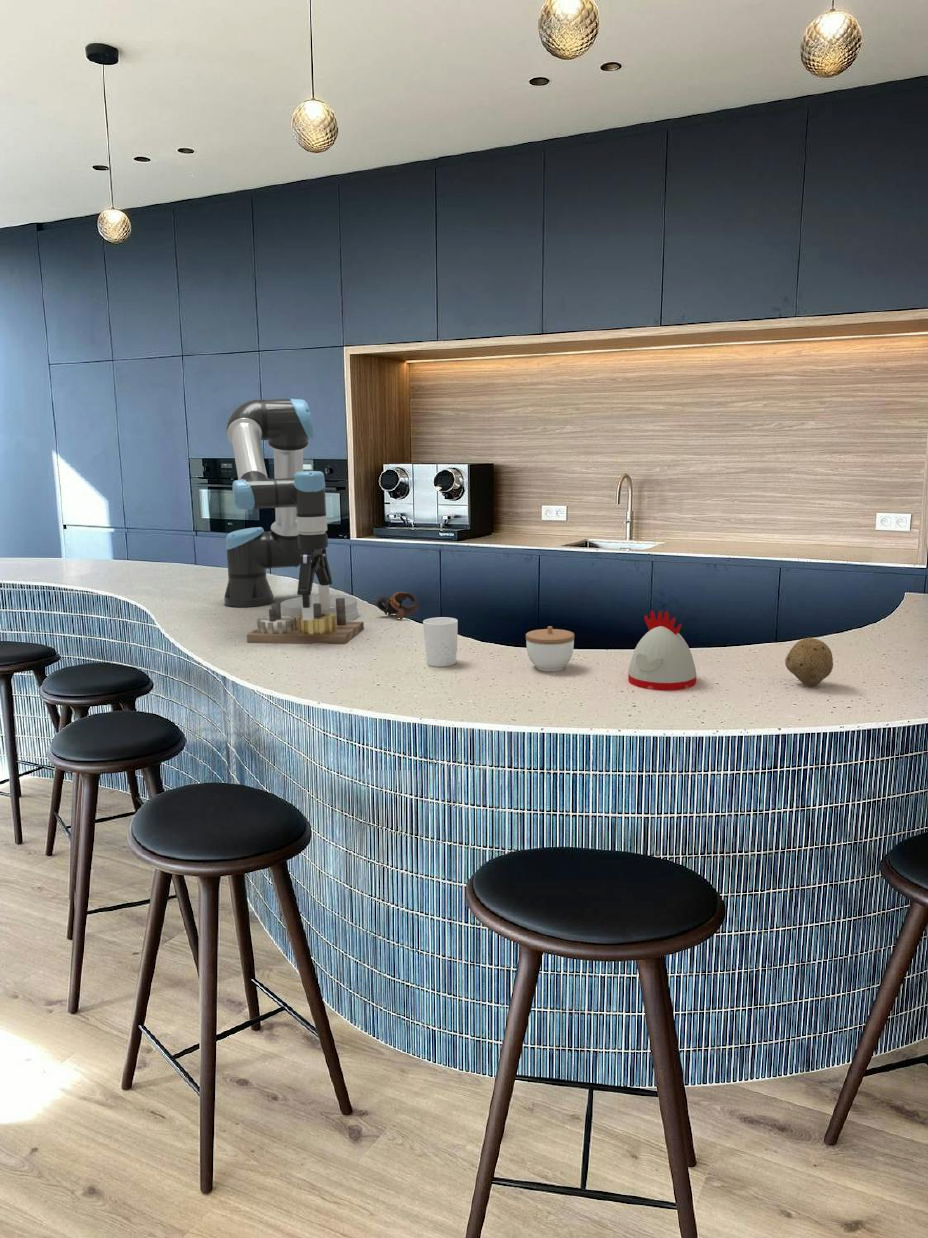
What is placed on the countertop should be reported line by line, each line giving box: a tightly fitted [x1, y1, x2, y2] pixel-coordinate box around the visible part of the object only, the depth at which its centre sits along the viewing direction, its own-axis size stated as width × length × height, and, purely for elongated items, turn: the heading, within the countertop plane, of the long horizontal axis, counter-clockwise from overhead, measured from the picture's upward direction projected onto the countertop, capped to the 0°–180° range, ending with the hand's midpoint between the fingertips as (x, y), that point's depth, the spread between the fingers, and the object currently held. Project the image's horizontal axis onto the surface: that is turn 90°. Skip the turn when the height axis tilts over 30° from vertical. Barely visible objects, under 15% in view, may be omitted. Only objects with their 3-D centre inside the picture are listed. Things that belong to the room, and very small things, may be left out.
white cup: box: [422, 616, 459, 668], centre depth 210 cm, size 8×8×10 cm
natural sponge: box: [784, 637, 834, 688], centre depth 186 cm, size 9×9×10 cm
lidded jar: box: [525, 625, 575, 672], centre depth 204 cm, size 11×11×9 cm
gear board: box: [246, 598, 365, 645], centre depth 242 cm, size 18×26×9 cm
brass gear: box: [297, 612, 337, 635], centre depth 239 cm, size 10×10×4 cm
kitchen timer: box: [627, 610, 697, 691], centre depth 191 cm, size 14×14×15 cm
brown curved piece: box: [375, 591, 419, 621], centre depth 263 cm, size 12×10×8 cm
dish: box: [280, 594, 359, 621], centre depth 265 cm, size 22×22×5 cm
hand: (316, 614), depth 238 cm, fingers open, 13 cm apart
